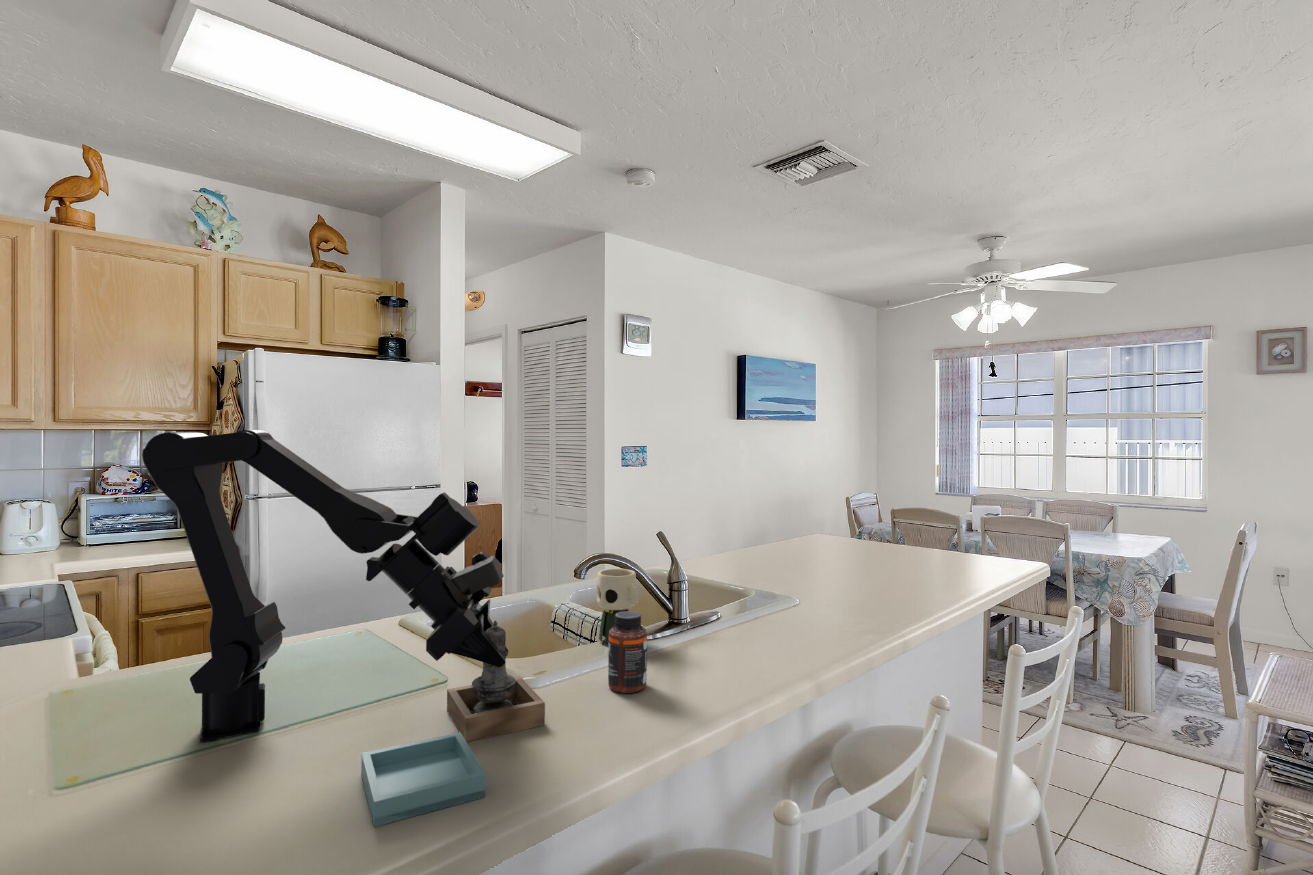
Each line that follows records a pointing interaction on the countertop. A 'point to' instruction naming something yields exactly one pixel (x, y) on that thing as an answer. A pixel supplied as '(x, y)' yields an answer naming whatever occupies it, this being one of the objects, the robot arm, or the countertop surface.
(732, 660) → the countertop surface
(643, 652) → the supplement bottle
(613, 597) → the character mug
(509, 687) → the salt shaker
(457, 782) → the tray
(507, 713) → the box
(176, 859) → the countertop surface
